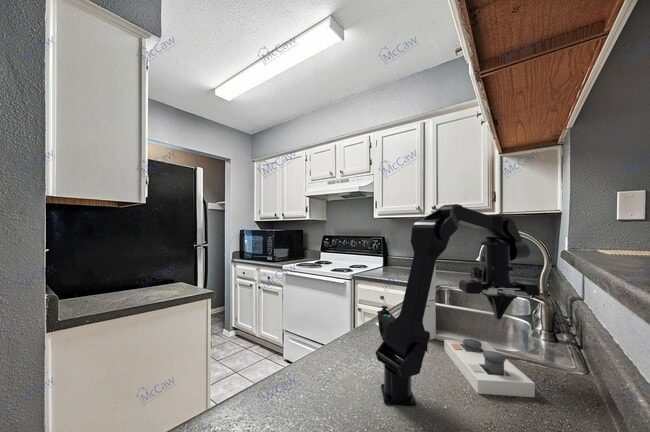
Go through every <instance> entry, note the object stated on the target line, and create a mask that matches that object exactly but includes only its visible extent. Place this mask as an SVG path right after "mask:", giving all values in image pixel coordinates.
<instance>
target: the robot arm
mask: <svg viewBox="0 0 650 432" xmlns="http://www.w3.org/2000/svg"><path fill="white" fill-rule="evenodd" d="M459 224H460V225H463V226H466V227H469V228H473V229H476V230H477V231H478V233H479V234H481V235H482V236H485V239H484V240H482V241H481V242H480V245H481V246H485V263H483V266H482V269H480V268H479V267H475V266H474V267H470V269H469V270H470V272H469V274H470V278H471V279H460V281H459V283H458V289H459V290H460V291H462V292H464V293H465V294H471V295H472V294H473V295H474V294H475V295H479V294H482V295H484V296H485V297H486V298H487V300H488V302H489V305H490V307H491V310H492V312H493V315H494V317H495V319H496V320H499V321H500V320H501V319H502V318H503V316H504V314H505V312H506V311H507V309H508V307H509V306H510V304H511V303H512V302H513V300H514V299H518V295H515V292H522V293H523V292H524V293H525V294H526V295H527V296H532V297H540V296H541V288H540V287H539V285H538V284H536V283H533V282H530V281H527V280H526V281H521V280H520V281H519V280H513V282H512V281H511V272H514V267H513V266H511V262H514V261H525V260H526V259H528V258H529V257H530V255H531V248H530V247H529V245H528V244H527V243H526V242H524V241H523V237H522V236H521V234H520V231H519V230H518V228H517V225H516V223H515V221H514V219H513V218H512V216H507V215H489V214H485V213H483V212H480V211H478V210H477V211H476V210H474V209H471V208H468V207H465V206H463V205H462V204H459V203H455V204H454V203H453V204H443V205H442V206H440V207H439V208H438V209H437V210H434V212H431V213H430V214H428V215H426V216H424V217H423V218H422V219H419V220H417V221H416V222H414V223H413V225H412V229H411V237H410V244H411V247H412V251H413V258H412V262H411V267H410V271H409V273H408V279H407V284H406V287H405V293H404V296H403V299H402V300H403V301H402V305H401V309H400V311H399V314H398V316H397V317H396V319H395V320H394V321H393V322H392V323H391V325H390V328H389V331H388V333H387V336H386V338H385V339H383V341H382V343H381V344H380V345H379V347H377V350H376V351H375V356H376V359H377V361H378V362H380V363H381V364H383V365H384V366H383V367H384V369H383V371H384V372H383V375H384V376H383V383H381V384H380V388H381V394H382V398H383V403H384V404H388V405H400V406H401V405H402V406H416V405H417V403H416V399H415V397H414V394H413V391H412V377H413V376H415V375H416V376H417V375H420V373H421V369H422V365H423V362H424V357H425V354H426V353H428V352H429V351H428V344H429V341H430V340H429V338H430V332H428V331H426V330H425V329H424V325H423V317H424V312H425V308H426V303H427V299H428V294H429V290H430V285H431V281H432V276H433V272H434V267H435V262H437V259H438V258H439V257H440V255H442V254H443V253H444V252H445V250H447V246H448V243H449V241H450V238H451V236H453V234H454V233H455V232H456V231H457V230H458V229H459Z"/></svg>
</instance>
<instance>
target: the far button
mask: <svg viewBox="0 0 650 432" xmlns="http://www.w3.org/2000/svg"><path fill="white" fill-rule="evenodd" d="M462 341H463V344H464V349H465V350H466V351H467V352H480V347H482V344H481V342H482V341H478V340H476V339H472V338H465V339H463V340H462Z"/></svg>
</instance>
